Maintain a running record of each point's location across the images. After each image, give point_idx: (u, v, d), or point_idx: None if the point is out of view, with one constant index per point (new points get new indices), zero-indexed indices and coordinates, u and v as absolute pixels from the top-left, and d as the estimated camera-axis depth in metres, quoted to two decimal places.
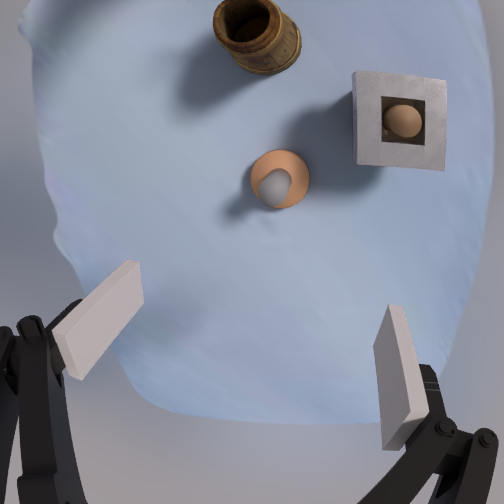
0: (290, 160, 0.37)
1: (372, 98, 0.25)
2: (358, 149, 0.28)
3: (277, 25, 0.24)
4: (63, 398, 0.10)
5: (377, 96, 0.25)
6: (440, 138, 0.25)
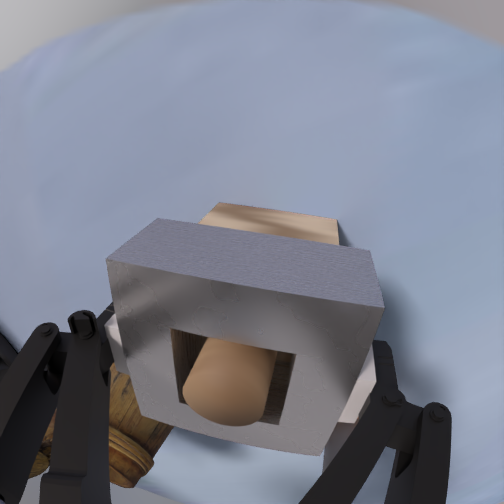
0: None
1: (187, 414, 0.13)
2: (290, 451, 0.13)
3: None
4: (107, 397, 0.11)
5: (181, 407, 0.13)
6: (275, 309, 0.10)
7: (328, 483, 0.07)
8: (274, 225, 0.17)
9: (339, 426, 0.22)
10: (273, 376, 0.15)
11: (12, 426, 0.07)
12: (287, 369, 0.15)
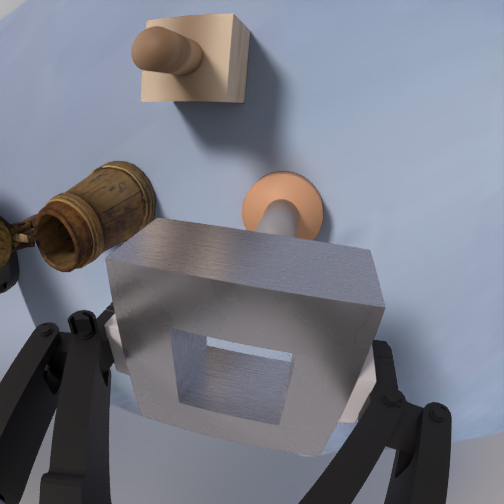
0: (255, 196, 0.28)
1: (187, 414, 0.13)
2: (290, 451, 0.13)
3: (61, 205, 0.23)
4: (107, 397, 0.11)
5: (181, 407, 0.13)
6: (275, 308, 0.09)
7: (328, 483, 0.07)
8: None
9: (273, 203, 0.27)
10: (273, 376, 0.15)
11: (12, 426, 0.07)
12: (287, 369, 0.15)
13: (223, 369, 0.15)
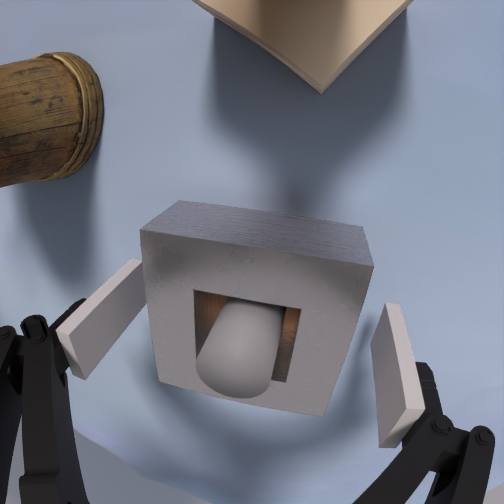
0: None
1: None
2: (296, 411, 0.15)
3: None
4: (66, 398, 0.10)
5: None
6: (284, 267, 0.12)
7: None
8: None
9: None
10: (280, 342, 0.17)
11: None
12: (292, 336, 0.17)
13: None
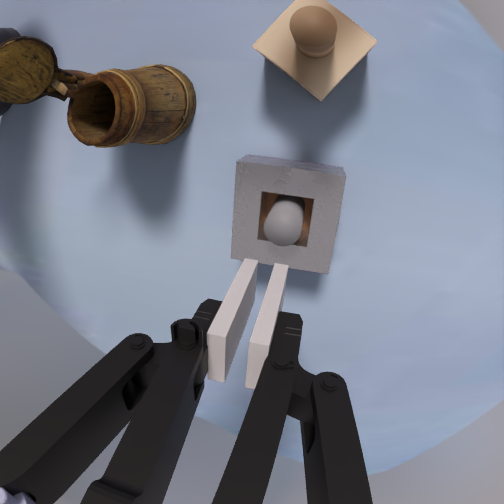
0: None
1: (260, 248, 0.29)
2: (312, 270, 0.29)
3: (122, 83, 0.21)
4: (192, 411, 0.11)
5: (257, 243, 0.29)
6: (306, 177, 0.25)
7: (243, 454, 0.08)
8: None
9: None
10: (301, 233, 0.31)
11: (69, 438, 0.07)
12: (307, 232, 0.31)
13: None
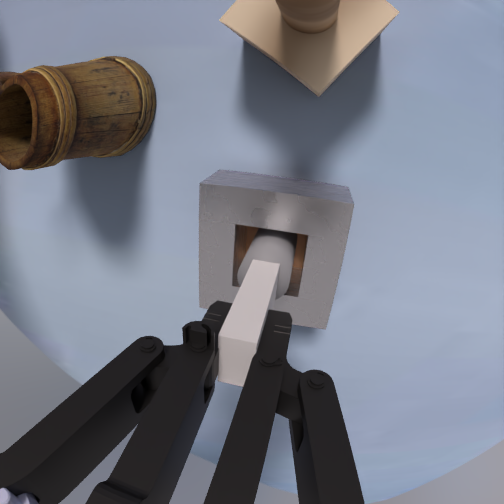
0: None
1: None
2: (305, 325, 0.22)
3: (43, 84, 0.13)
4: (202, 414, 0.11)
5: (232, 290, 0.21)
6: (297, 205, 0.18)
7: (233, 452, 0.08)
8: None
9: None
10: (291, 274, 0.23)
11: (75, 440, 0.07)
12: (300, 271, 0.24)
13: None
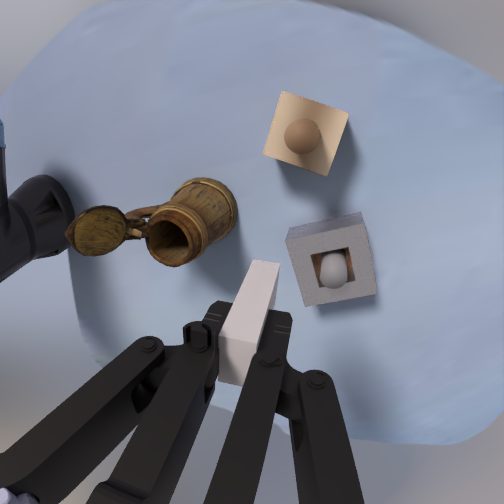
0: None
1: (323, 293, 0.38)
2: (365, 295, 0.36)
3: (182, 216, 0.33)
4: (202, 414, 0.11)
5: (320, 290, 0.37)
6: (337, 234, 0.34)
7: (233, 452, 0.08)
8: None
9: None
10: (348, 270, 0.39)
11: (75, 440, 0.07)
12: (353, 267, 0.39)
13: None
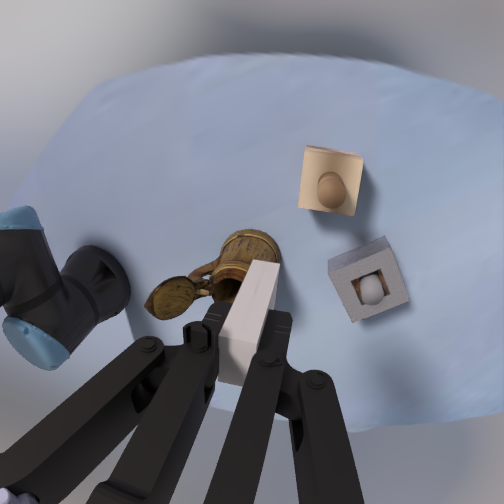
0: None
1: (365, 309, 0.43)
2: (400, 303, 0.41)
3: (241, 272, 0.40)
4: (202, 414, 0.11)
5: (363, 307, 0.43)
6: (369, 260, 0.40)
7: (233, 452, 0.08)
8: (334, 151, 0.38)
9: None
10: (383, 285, 0.44)
11: (75, 440, 0.07)
12: (386, 281, 0.44)
13: None
